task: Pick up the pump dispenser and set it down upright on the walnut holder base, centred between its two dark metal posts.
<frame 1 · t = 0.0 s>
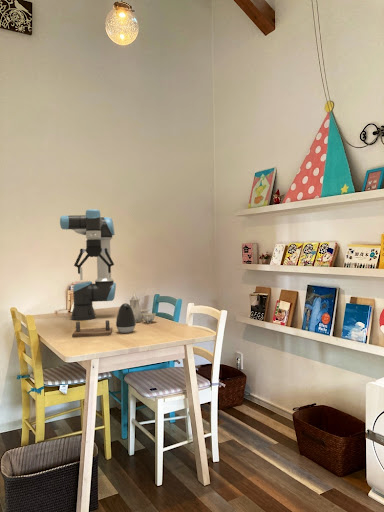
hand: (94, 279, 210), 28 cm above the table, fingers open, 13 cm apart
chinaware: (139, 321, 245), on the table
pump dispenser: (126, 332, 211), on the table
holder: (93, 333, 209), on the table
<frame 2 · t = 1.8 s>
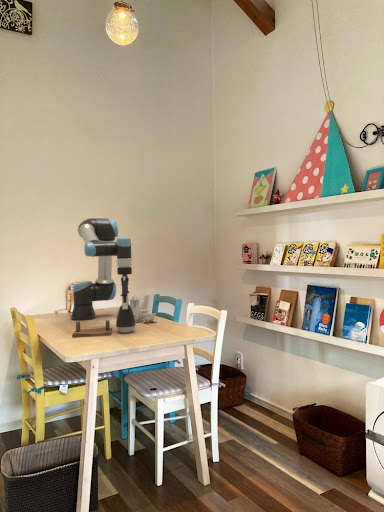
hand: (125, 307, 211), 13 cm above the table, fingers open, 13 cm apart
nothing on the table moved.
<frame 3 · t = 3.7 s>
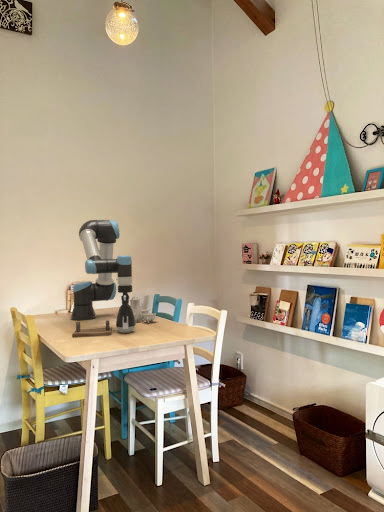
hand: (126, 326, 211), 3 cm above the table, fingers closed on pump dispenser, 10 cm apart
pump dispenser: (126, 332, 211), on the table, touching gripper
everything else where it was.
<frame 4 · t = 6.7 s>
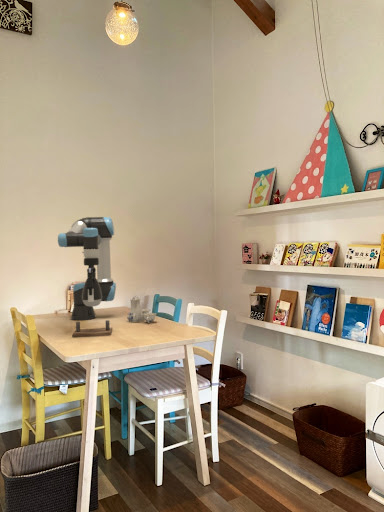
hand: (92, 300, 209), 17 cm above the table, fingers closed on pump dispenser, 10 cm apart
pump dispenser: (92, 306, 209), point 14 cm above the table, touching gripper
everything else where it was.
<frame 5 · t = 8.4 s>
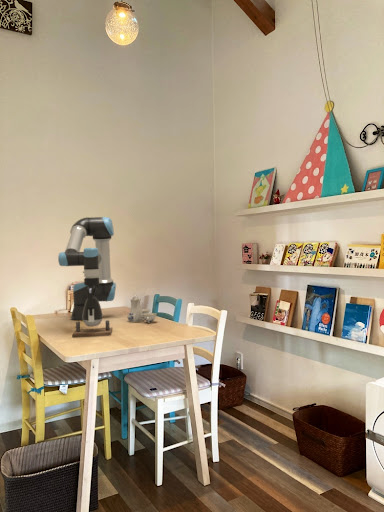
hand: (92, 320, 209), 7 cm above the table, fingers closed on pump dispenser, 10 cm apart
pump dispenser: (92, 325, 209), point 4 cm above the table, touching gripper
everything else where it was.
when the fingers open (6 cm above the table, at t = 9.7 s): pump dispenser drops 1 cm, resting on holder.
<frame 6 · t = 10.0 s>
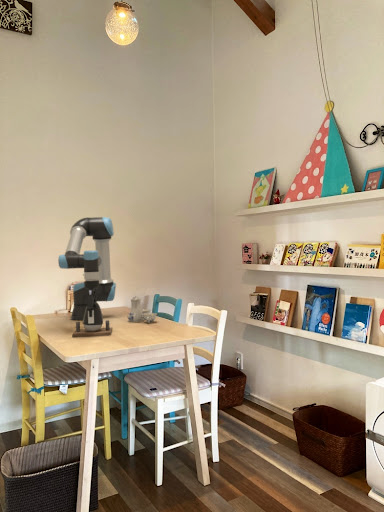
hand: (92, 321, 209), 7 cm above the table, fingers open, 13 cm apart
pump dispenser: (92, 330, 209), point 1 cm above the table, touching holder
everything else where it was.
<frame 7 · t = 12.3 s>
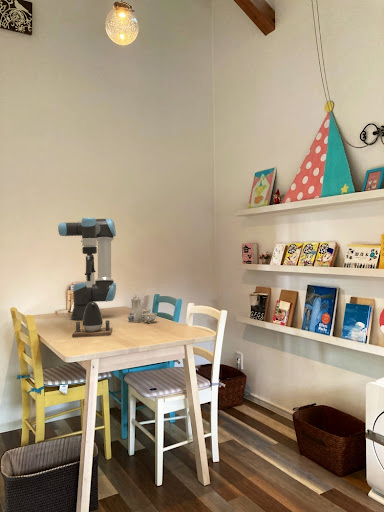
hand: (90, 285, 217), 24 cm above the table, fingers open, 13 cm apart
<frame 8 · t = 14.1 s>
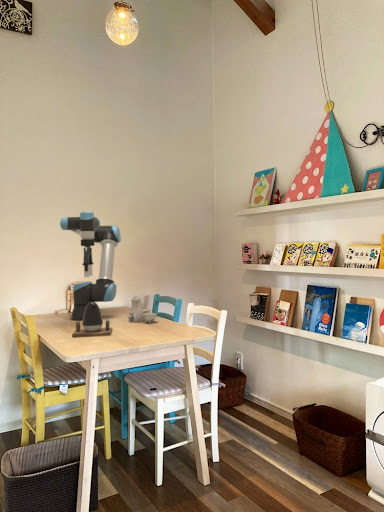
hand: (88, 276, 227), 29 cm above the table, fingers open, 13 cm apart
at the end: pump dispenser 0.0 cm off-centre on the holder, point 1.3 cm above the holder's base; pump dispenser tilted 0°; the gripper is holding nothing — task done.
